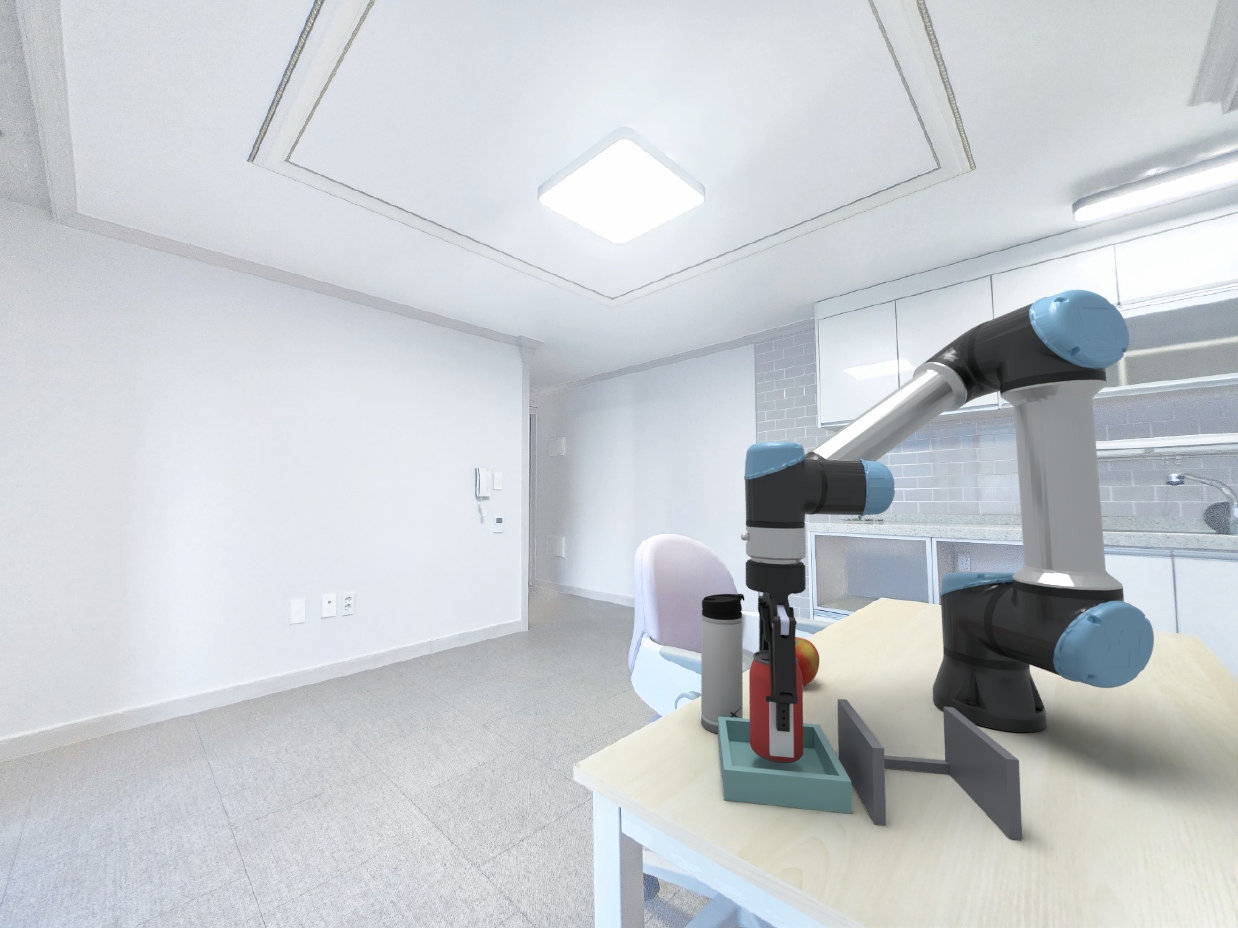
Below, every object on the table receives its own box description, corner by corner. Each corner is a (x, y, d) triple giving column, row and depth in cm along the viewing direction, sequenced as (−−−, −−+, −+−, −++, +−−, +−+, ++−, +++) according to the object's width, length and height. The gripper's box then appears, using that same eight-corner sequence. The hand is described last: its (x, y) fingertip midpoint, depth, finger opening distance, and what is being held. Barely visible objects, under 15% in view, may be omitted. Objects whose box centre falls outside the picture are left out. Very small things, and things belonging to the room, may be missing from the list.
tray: (819, 749, 68) (819, 724, 68) (851, 813, 54) (851, 781, 55) (717, 740, 70) (718, 716, 70) (724, 799, 56) (724, 769, 57)
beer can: (742, 739, 65) (742, 648, 66) (789, 738, 66) (789, 648, 67) (761, 766, 59) (760, 665, 60) (813, 765, 59) (811, 664, 60)
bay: (955, 770, 63) (953, 707, 64) (1022, 839, 50) (1018, 759, 51) (838, 760, 65) (837, 698, 66) (874, 824, 53) (872, 747, 53)
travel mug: (746, 737, 71) (745, 599, 73) (700, 732, 73) (700, 596, 74) (743, 718, 77) (743, 591, 79) (701, 714, 79) (702, 589, 80)
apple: (827, 684, 92) (827, 631, 93) (805, 695, 87) (805, 638, 87) (789, 672, 98) (788, 622, 99) (766, 682, 93) (765, 628, 94)
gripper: (738, 550, 74) (739, 705, 73) (754, 569, 55) (756, 780, 53) (789, 552, 73) (791, 709, 72) (824, 571, 54) (827, 787, 52)
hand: (776, 739), depth 63 cm, fingers closed on beer can, 6 cm apart
